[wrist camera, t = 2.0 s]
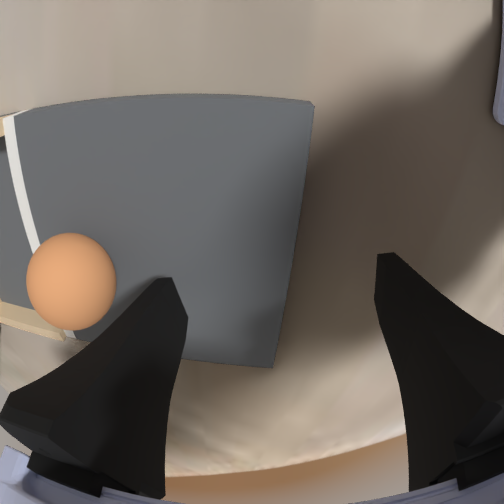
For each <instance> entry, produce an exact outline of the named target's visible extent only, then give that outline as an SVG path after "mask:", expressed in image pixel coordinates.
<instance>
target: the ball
mask: <svg viewBox="0 0 504 504" xmlns="http://www.w3.org/2000/svg"><path fill="white" fill-rule="evenodd" d="M26 286H27V292H28V296H29V299H30V301H31V304H32V305H33V307H34V309H35V310H36V312H37V313H38V314H39V315H40V316H41V317H42V318H43V319H44V320H45V321H46V322H48V323H49V324H51V325H52V326H55V327H57V328H60V329H63V330H72V331H74V330H82V329H85V328H88V327H90V326H92V325H94V324H96V323H97V322H98V321H100V320H101V319H102V318H103V317H104V316H105V314H106V313H107V312H108V310H109V309H110V307H111V305H112V303H113V300H114V297H115V293H116V273H115V269H114V266H113V263H112V261H111V259H110V257H109V255H108V254H107V252H106V251H105V249H104V248H103V247H102V246H101V245H100V244H99V243H97V242H96V241H95V240H93V239H92V238H90V237H87V236H85V235H82V234H78V233H62V234H58V235H55V236H53V237H51V238H49V239H48V240H46V241H44V242H43V243H42V244H41V245H40V246H39V247H38V248H37V250H36V251H35V252H34V254H33V256H32V257H31V260H30V262H29V265H28V269H27V275H26Z"/></svg>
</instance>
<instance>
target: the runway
mask: <svg viewBox="0 0 504 504" xmlns="http://www.w3.org/2000/svg"><path fill="white" fill-rule="evenodd" d="M314 107H315V106H314V105H313V104H312V103H311V102H310V101H303V100H294V99H285V98H274V97H262V96H248V95H228V94H156V95H137V96H123V97H111V98H101V99H92V100H84V101H77V102H70V103H63V104H57V105H51V106H45V107H40V108H34V109H29V110H25V111H20V112H15V113H11V114H7V115H3V116H0V323H3V324H6V325H9V326H12V327H15V328H18V329H22V330H25V331H28V332H32V333H35V334H38V335H42V336H45V337H49V338H53V339H56V340H60V341H64V340H65V338H66V336H67V337H71V338H75V339H79V340H84V341H88V342H92V341H94V340H95V339H96V338H97V337H98V336H99V335H100V334H101V333H102V332H104V331H105V330H106V329H107V328H108V327H109V326H110V325H111V324H112V323H113V322H114V321H115V320H116V319H117V318H118V317H119V316H120V315H121V314H122V313H123V312H124V311H125V310H126V309H127V308H128V307H129V306H130V305H131V304H132V303H133V302H134V301H135V300H136V298H137V297H138V296H139V295H140V294H141V293H142V292H143V291H144V290H145V289H146V288H147V287H148V286H149V285H150V284H151V283H152V282H153V281H155V280H156V279H157V278H166V277H172V279H173V281H174V284H175V286H176V289H177V291H178V294H179V296H180V298H181V301H182V303H183V306H184V308H185V310H186V313H187V315H188V326H187V334H186V341H185V345H184V349H183V353H182V357H181V359H188V360H195V361H203V362H212V363H221V364H230V365H240V366H252V367H264V368H273V365H274V360H275V355H276V350H277V345H278V340H279V334H280V329H281V324H282V318H283V313H284V307H285V302H286V296H287V291H288V285H289V279H290V273H291V267H292V262H293V255H294V249H295V243H296V237H297V231H298V224H299V218H300V211H301V205H302V198H303V191H304V184H305V177H306V170H307V163H308V155H309V148H310V140H311V132H312V124H313V116H314ZM62 233H78V234H82V235H85V236H87V237H90V238H92V239H93V240H95V241H96V242H97V243H99V244H100V245H101V246H102V247H103V248H104V249H105V251H106V252H107V254H108V255H109V257H110V259H111V261H112V263H113V266H114V269H115V273H116V293H115V297H114V300H113V303H112V305H111V307H110V309H109V310H108V312H107V313H106V314H105V316H104V317H103V318H102V319H101V320H100V321H98V322H97V323H96V324H94V325H92V326H90V327H88V328H85V329H82V330H74V331H72V330H63V329H60V328H57V327H55V326H52V325H51V324H49V323H48V322H46V321H45V320H44V319H43V318H42V317H41V316H40V315H39V314H38V313H37V312H36V310H35V309H34V307H33V305H32V304H31V301H30V299H29V296H28V292H27V286H26V275H27V269H28V265H29V262H30V260H31V257H32V256H33V254H34V252H35V251H36V250H37V248H38V247H39V246H40V245H41V244H42V243H43V242H44V241H46V240H48V239H49V238H51V237H53V236H55V235H58V234H62Z"/></svg>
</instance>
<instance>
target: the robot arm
mask: <svg viewBox="0 0 504 504" xmlns="http://www.w3.org/2000/svg"><path fill="white" fill-rule="evenodd" d="M493 116H494V118H495V120H496V121H497V122H498V123H499V124H502V125H504V0H503V23H502V42H501V54H500V64H499V72H498V80H497V87H496V93H495V99H494V105H493ZM374 301H375V306H376V311H377V315H378V319H379V324H380V327H381V330H382V333H383V336H384V339H385V342H386V344H387V347H388V350H389V353H390V356H391V359H392V362H393V366H394V369H395V372H396V375H397V379H398V383H399V387H400V392H401V398H402V404H403V410H404V418H405V425H406V434H407V445H408V462H409V492H407V493H403V494H399V495H395V496H389V497H385V498H380V499H374V500H369V501H364V502H357V503H350V504H504V335H502V334H500V333H499V332H497V331H495V330H493V329H492V328H490V327H488V326H486V325H485V324H483V323H482V322H480V321H478V320H477V319H475V318H474V317H472V316H471V315H470V314H468V313H467V312H465V311H464V310H462V309H461V308H459V307H458V306H457V305H455V304H454V303H453V302H452V301H450V300H449V299H448V298H446V297H445V296H444V295H443V294H441V293H440V292H439V291H438V290H437V289H435V288H434V287H433V286H432V285H431V284H429V283H428V282H427V281H426V280H425V279H424V278H423V277H421V276H420V275H419V274H418V273H417V272H416V271H415V270H414V269H412V268H411V267H410V266H409V265H408V264H407V263H406V262H405V261H404V260H402V259H401V258H400V257H399V256H398V255H397V254H396V253H394V252H392V253H384V254H377V269H376V282H375V294H374ZM187 326H188V315H187V313H186V310H185V308H184V306H183V303H182V301H181V298H180V296H179V294H178V291H177V289H176V286H175V284H174V281H173V279H172V277H166V278H157V279H156V280H155V281H153V282H152V283H151V284H150V285H149V286H148V287H147V288H146V289H145V290H144V291H143V292H142V293H141V294H140V295H139V296H138V297H137V298H136V300H135V301H134V302H133V303H132V304H131V305H130V306H129V307H128V308H127V309H126V310H125V311H124V312H123V313H122V314H121V315H120V316H119V317H118V318H117V319H116V320H115V321H114V322H113V323H112V324H111V325H110V326H109V327H108V328H107V329H106V330H105V331H104V332H102V333H101V334H100V335H99V336H98V337H97V338H96V339H95V340H94V341H92V342H91V343H90V344H89V345H88V346H86V347H85V348H84V349H83V350H81V351H80V352H79V353H78V354H76V355H75V356H73V357H72V358H71V359H69V360H68V361H66V362H65V363H64V364H62V365H61V366H59V367H58V368H56V369H55V370H53V371H51V372H50V373H48V374H47V375H45V376H43V377H41V378H40V379H38V380H36V381H34V382H32V383H30V384H28V385H26V386H24V387H22V388H20V389H18V390H16V391H13V392H11V393H10V394H9V396H8V398H7V400H6V402H5V404H4V406H3V409H2V411H1V413H0V425H1V426H2V427H3V428H4V429H5V430H6V431H7V432H8V433H9V434H11V435H12V436H13V437H15V438H16V439H17V440H18V441H20V442H21V443H22V444H24V445H25V446H26V447H28V448H29V449H30V450H32V453H31V456H28V455H26V454H25V453H23V452H21V451H18V450H16V449H14V448H11V447H10V446H8V445H6V446H5V448H4V450H3V453H2V455H1V458H0V504H184V503H177V502H170V501H164V500H160V499H162V498H163V497H164V496H165V445H166V432H167V422H168V414H169V406H170V400H171V395H172V390H173V386H174V383H175V379H176V375H177V371H178V368H179V364H180V360H181V357H182V353H183V349H184V345H185V341H186V334H187Z"/></svg>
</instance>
